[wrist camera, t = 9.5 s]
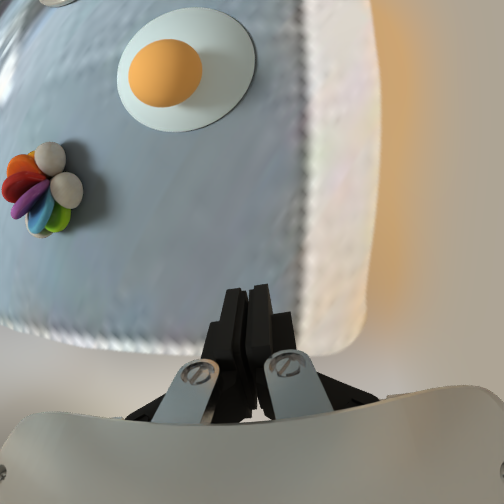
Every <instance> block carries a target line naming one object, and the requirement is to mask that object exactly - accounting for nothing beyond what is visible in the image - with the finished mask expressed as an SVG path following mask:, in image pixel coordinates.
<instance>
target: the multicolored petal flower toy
mask: <svg viewBox="0 0 504 504" xmlns="http://www.w3.org/2000/svg"><path fill="white" fill-rule="evenodd" d="M65 163H66V155H65V152H64V150H63V148H62V147H61V146H60V145H59V144H57V143H55V142H45V143H43V144H41V145H40V146H38V147H37V149H36V150H35V151H32V152H30V153H29V154H28V155H25V154H21V155H17V156H15V157H14V158H12V159H11V160H10V162H9V164H8V167H7V179H6V180H5V181H4V183H3V185H2V195H3V197H4V198H5V199H6V200H7V201H8V202H11V203H15V204H14V205H13V207H12V209H11V216H12V218H13V219H19V218H21V217H22V216H24V215H25V214H26V218H25V223H26V227H27V229H28V231H29V232H30V234H32V235H33V236H34V237H37V238H46V237H48V236H50V235H51V234H52V233H53V232H59V231H62V230H63V229H65V228H66V226H67V225H68V223H69V221H70V217H71V209H73V208H76V207H77V206H78V205H79V204H80V202H81V200H82V197H83V186H82V183H81V181H80V179H79V178H78V177H77V176H76V175H74V174H72V173H68V172H62V171H63V169H64V167H65ZM61 172H62V173H61ZM52 177H53V178H52ZM51 178H52V180H51V182H50V179H51Z"/></svg>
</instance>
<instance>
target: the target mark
mask: <svg viewBox="0 0 504 504" xmlns="http://www.w3.org/2000/svg"><path fill="white" fill-rule="evenodd" d="M162 39H175V40H180V41H183V42H185V43H187V44H188V45H190V46H191V47H192V48H193V49H194V50H195V51H196V52H197V53H198V55H199V57H200V59H201V63H202V77H201V81H200V83H199V85H198V87H197V89H196V90H195V92H194V93H193V94H192V95H191V96H190V97H189V98H188V99H186V100H185V101H183V102H181V103H179V104H177V105H174V106H171V107H164V108H162V107H153V106H149V105H147V104H145V103H143V102H141V101H140V100H139V99H138V98H137V97H136V96H135V95H134V94H133V92H132V90H131V88H130V85H129V81H128V72H129V68H130V65H131V62H132V60H133V59H134V57H135V56H136V54H137V53H138V52H139V51H140V50H141V49H142V48H144V47H145V46H146V45H148V44H150V43H152V42H155V41H158V40H162ZM254 67H255V54H254V48H253V45H252V42H251V39H250V37H249V35H248V34H247V32H246V31H245V29H244V28H243V27H242V26H241V25H240V24H239V23H238V22H237V21H236V20H234V19H233V18H232V17H230V16H228V15H226V14H225V13H222V12H220V11H217V10H213V9H209V8H200V7H194V8H183V9H178V10H174V11H171V12H168V13H166V14H163V15H161V16H159V17H157V18H155V19H154V20H152V21H151V22H149V23H148V24H147V25H145V26H144V27H143V28H142V29H141V30H140V31H138V32H137V33H136V35H135V36H134V37H133V38H132V39H131V41H130V42H129V44H128V45H127V47H126V48H125V50H124V52H123V54H122V57H121V60H120V63H119V67H118V73H117V87H118V92H119V95H120V98H121V101H122V103H123V105H124V106H125V108H126V109H127V111H128V112H129V113H130V114H131V115H132V116H133V117H134V118H135V119H136V120H138V121H139V122H140V123H142V124H144V125H146V126H148V127H150V128H153V129H156V130H161V131H166V132H184V131H190V130H195V129H198V128H201V127H204V126H206V125H208V124H211V123H213V122H214V121H216V120H218V119H220V118H221V117H223V116H224V115H225V114H227V113H228V112H229V111H230V110H231V109H232V108H233V107H234V106H235V105H236V104H237V103H238V102H239V101H240V100H241V98H242V97H243V95H244V94H245V92H246V91H247V89H248V87H249V85H250V83H251V79H252V76H253V73H254Z"/></svg>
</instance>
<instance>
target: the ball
mask: <svg viewBox="0 0 504 504" xmlns="http://www.w3.org/2000/svg"><path fill="white" fill-rule="evenodd" d="M201 77H202V63H201V59H200V57H199V55H198V53H197V52H196V51H195V50H194V49H193V48H192V47H191V46H190V45H188V44H187V43H185V42H183V41H180V40H175V39H162V40H158V41H155V42H152V43H150V44H148V45H146V46H145V47H144V48H142V49H141V50H140V51H139V52H138V53H137V54H136V56H135V57H134V59H133V60H132V62H131V65H130V68H129V72H128V81H129V85H130V88H131V90H132V92H133V94H134V95H135V96H136V97H137V98H138V99H139V100H140V101H141V102H143V103H145V104H147V105H149V106H153V107H162V108H164V107H171V106H174V105H177V104H179V103H181V102H183V101H185V100H186V99H188V98H189V97H190V96H191V95H192V94H193V93H194V92H195V90H196V89H197V87H198V85H199V83H200V81H201Z"/></svg>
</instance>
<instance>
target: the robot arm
mask: <svg viewBox="0 0 504 504" xmlns="http://www.w3.org/2000/svg"><path fill="white" fill-rule="evenodd" d="M39 1H40V2H41V3H42V4H44V5H45V6H48V7H60V6H64V5H66V4H68V3H71V2H73V1H74V0H39ZM257 397H258V400H259V404H260V407H261V409H263V411H264V414H265V416H266V417H268V418H270V419H271V420H269V421H258V422H244V423H239V422H240V421H242V420H243V419H244V418H251V417H252V410H255V409H257ZM0 504H504V402H503V401H502V400H501V399H500V398H499V397H498V396H497V395H495V394H494V393H493V392H491V391H490V390H488V389H486V388H483V387H479V386H472V385H457V386H445V387H438V388H431V389H427V390H422V391H417V392H413V393H405V394H395V395H387V398H386V399H378V398H377V397H376V396H374V395H372V394H370V393H367V392H365V391H362V390H360V389H357V388H354V387H352V386H349V385H347V384H344V383H342V382H339V381H337V380H335V379H333V378H330V377H328V376H325V375H323V374H320V373H318V372H316V370H315V368H314V366H313V364H312V361H311V359H310V358H309V356H308V355H307V354H306V353H304V352H302V351H299V350H297V349H296V343H295V336H294V330H293V324H292V318H291V312H284V313H277V314H273V311H272V305H271V299H270V294H269V288H268V284H262V285H256V286H254V289H252V290H249V302H248V297H247V292H246V291H241V288H235V289H228V290H227V291H226V295H225V299H224V303H223V308H222V312H221V316H220V321H216V322H211V323H210V326H209V329H208V333H207V337H206V340H205V344H204V348H203V352H202V355H201V359H197V360H193V361H191V362H188V363H186V364H185V365H184V366H182V367H181V368H180V370H179V371H178V373H177V374H176V377H175V378H174V380H173V382H172V383H171V386H170V387H169V389H168V391H167V393H165V394H164V395H162V396H160V397H159V398H157V399H155V400H154V401H152V402H150V403H148V404H147V405H145V406H143V407H142V408H140V409H138V410H136V411H135V412H133V413H131V414H130V415H128V416H127V417H126V418H125V420H124V419H123V418H122V417H115V418H104V417H97V416H90V415H83V414H76V413H68V412H42V413H36V414H32V415H30V416H27V417H25V418H24V419H22V420H21V422H19V424H18V425H17V426H16V427H15V428H14V430H13V431H12V432H11V434H10V435H9V437H8V438H7V440H6V441H5V443H4V445H3V446H2V448H1V449H0Z"/></svg>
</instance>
